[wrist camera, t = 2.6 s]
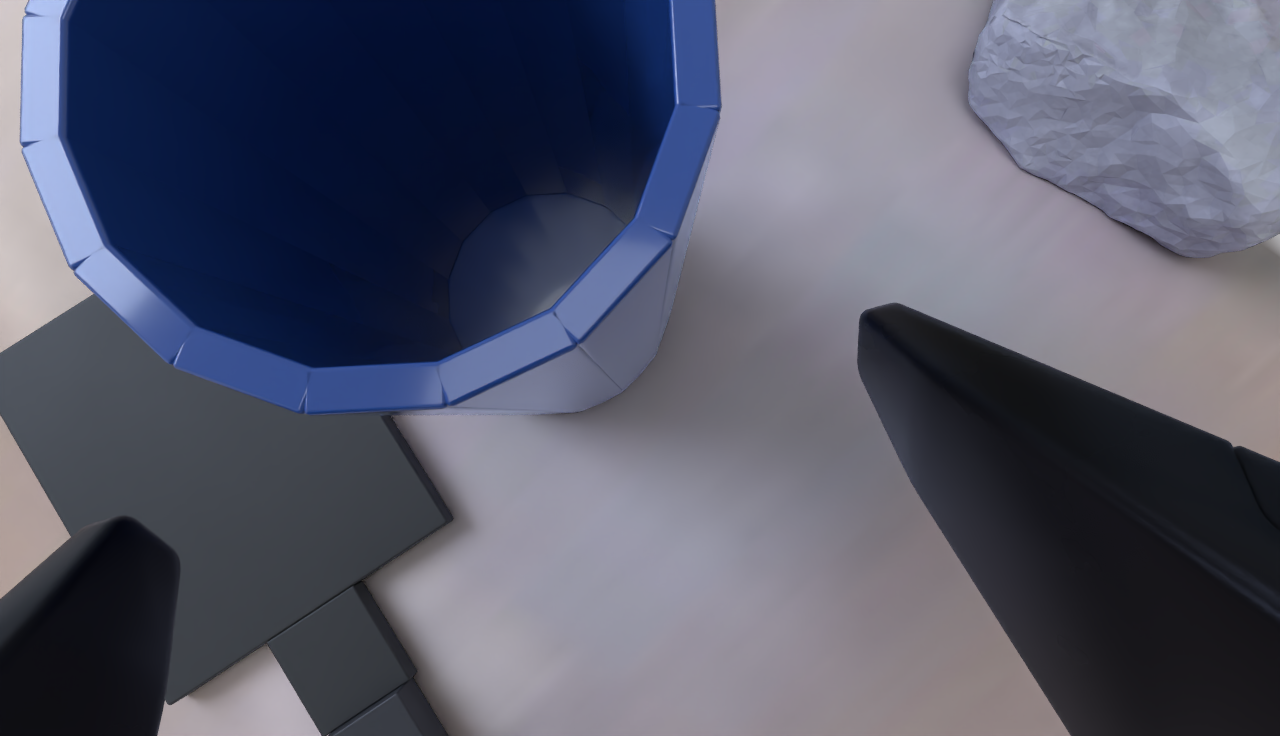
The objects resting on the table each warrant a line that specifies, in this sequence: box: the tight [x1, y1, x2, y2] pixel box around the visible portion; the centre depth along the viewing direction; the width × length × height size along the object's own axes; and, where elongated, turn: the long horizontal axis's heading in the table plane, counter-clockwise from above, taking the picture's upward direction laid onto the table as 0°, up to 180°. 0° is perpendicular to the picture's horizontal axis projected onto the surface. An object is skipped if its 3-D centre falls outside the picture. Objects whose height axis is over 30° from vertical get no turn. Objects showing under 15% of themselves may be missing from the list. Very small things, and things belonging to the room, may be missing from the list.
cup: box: [20, 0, 722, 416], centre depth 12 cm, size 7×7×12 cm
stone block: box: [968, 0, 1280, 258], centre depth 17 cm, size 12×5×10 cm
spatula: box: [0, 294, 453, 736], centre depth 17 cm, size 26×9×1 cm, turn 33°
